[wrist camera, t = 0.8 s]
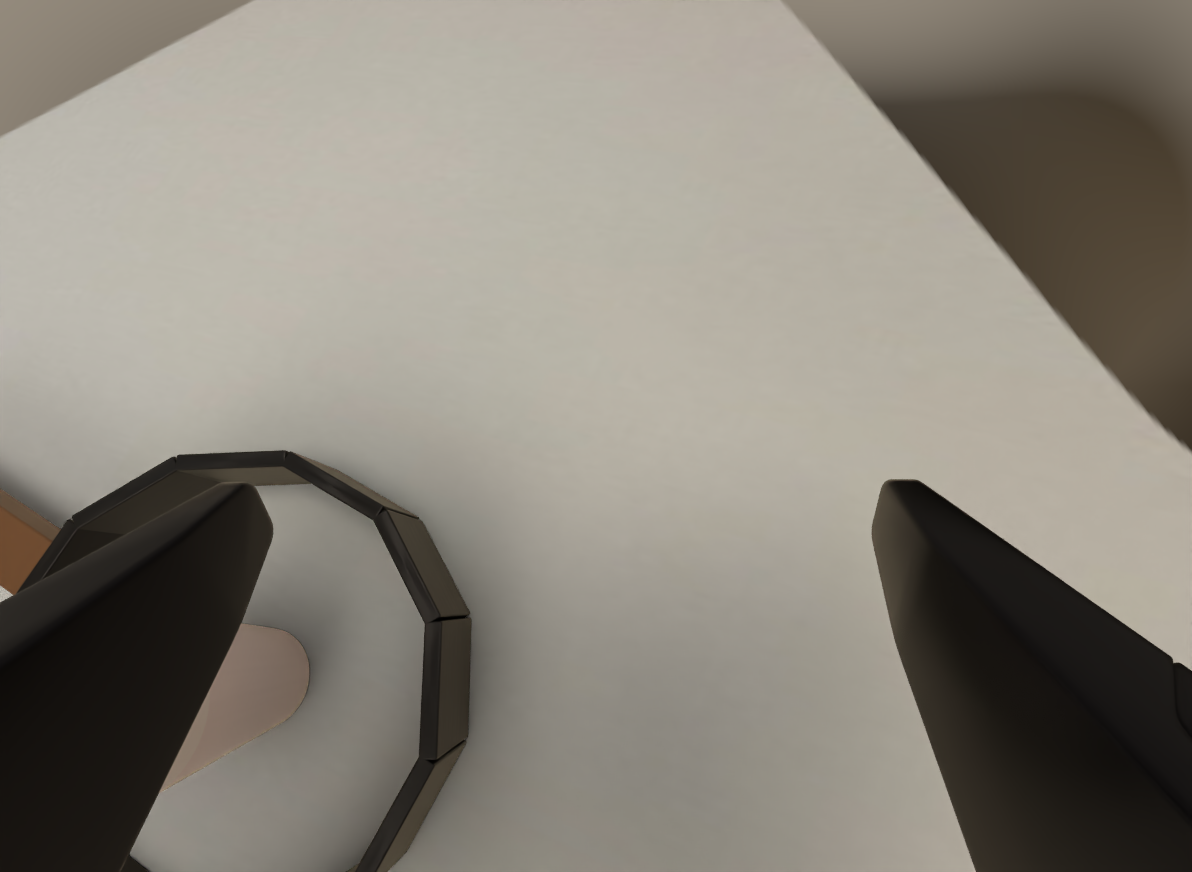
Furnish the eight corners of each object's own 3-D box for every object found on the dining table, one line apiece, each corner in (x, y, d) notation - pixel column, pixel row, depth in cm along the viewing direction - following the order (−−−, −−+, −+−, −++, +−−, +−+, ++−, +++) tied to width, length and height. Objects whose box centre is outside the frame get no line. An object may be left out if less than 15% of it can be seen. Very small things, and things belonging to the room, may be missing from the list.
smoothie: (200, 589, 26) (-307, 579, 12) (353, 594, 25) (-4, 589, 12) (169, 764, 24) (-452, 975, 11) (332, 774, 23) (-110, 1012, 10)
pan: (311, 1025, 22) (247, 1104, 18) (-189, 623, 27) (-310, 626, 24) (548, 592, 24) (531, 591, 21) (52, 304, 30) (-25, 267, 26)
